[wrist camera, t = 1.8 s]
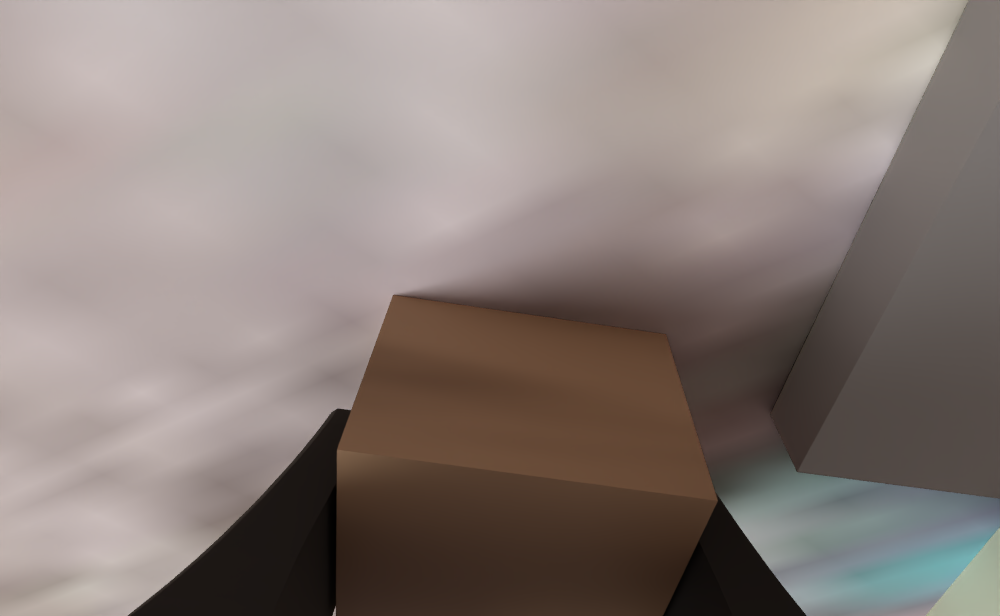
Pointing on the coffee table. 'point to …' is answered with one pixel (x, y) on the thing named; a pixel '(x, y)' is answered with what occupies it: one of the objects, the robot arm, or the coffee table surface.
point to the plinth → (917, 301)
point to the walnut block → (516, 469)
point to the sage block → (975, 586)
